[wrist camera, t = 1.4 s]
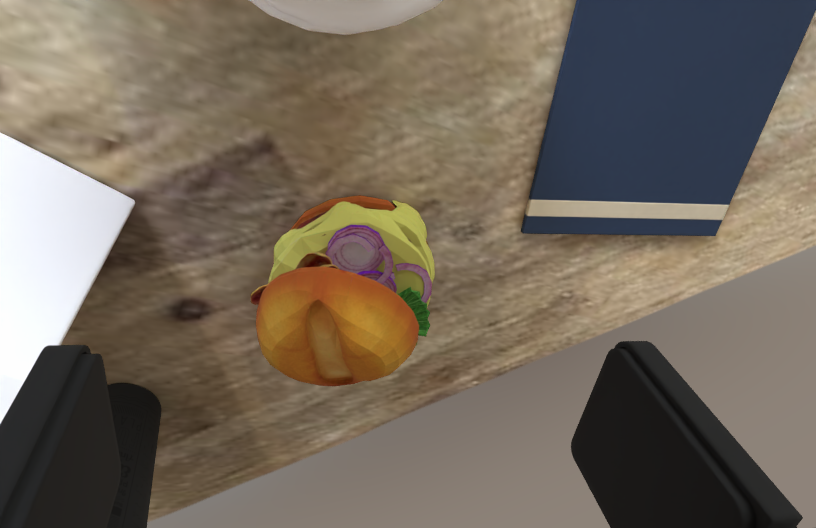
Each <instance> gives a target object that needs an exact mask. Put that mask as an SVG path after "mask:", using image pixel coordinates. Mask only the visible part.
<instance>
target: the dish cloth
mask: <svg viewBox="0 0 816 528" xmlns="http://www.w3.org/2000/svg"><path fill="white" fill-rule="evenodd" d="M815 11H816V0H577V1H576V5H575V9H574V13H573V18H572V22H571V26H570V30H569V34H568V38H567V42H566V46H565V51H564V55H563V59H562V63H561V67H560V71H559V75H558V79H557V84H556V88H555V92H554V96H553V100H552V104H551V108H550V112H549V117H548V121H547V125H546V129H545V133H544V137H543V141H542V145H541V150H540V154H539V158H538V162H537V166H536V170H535V174H534V179H533V183H532V187H531V191H530V195H529V199H528V203H527V207H526V212H525V216H524V220H523V224H522V228H521V232H522V233H531V234H608V235H685V236H715V235H716V233H717V231H718V229H719V226H720V224H721V222H722V220H723V218H724V216H725V213H726V211H727V209H728V207H729V204H730V202H731V199H732V197H733V195H734V193H735V191H736V188H737V186H738V184H739V182H740V179H741V177H742V175H743V173H744V170H745V168H746V166H747V164H748V161H749V159H750V157H751V155H752V152H753V150H754V148H755V146H756V143H757V141H758V139H759V137H760V134H761V132H762V130H763V128H764V125H765V123H766V121H767V119H768V116H769V114H770V112H771V110H772V107H773V105H774V103H775V101H776V98H777V96H778V94H779V92H780V89H781V87H782V85H783V83H784V80H785V78H786V76H787V74H788V71H789V69H790V67H791V65H792V62H793V60H794V58H795V56H796V53H797V51H798V49H799V47H800V44H801V42H802V40H803V38H804V35H805V33H806V31H807V29H808V26H809V24H810V22H811V20H812V17H813V15H814V13H815Z"/></svg>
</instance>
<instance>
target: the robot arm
mask: <svg viewBox="0 0 816 528" xmlns="http://www.w3.org/2000/svg"><path fill="white" fill-rule="evenodd" d="M571 450H572V455H573V458H574V460H575V462H576V464H577V466H578V467H579V469H580V471H581V473H582V475H583V477H584V478H585V480H586V482H587V484H588V486H589V488H590V490H591V492H592V493H593V495H594V497H595V499H596V501H597V503H598V505H599V507H600V508H601V510H602V512H603V514H604V516H605V518H606V520H607V522H608V524H609V525H610V527H611V528H797V527H796V526H797V525H798V523H799V522H800V521H801V520H802V518H803V517H802V516H801V515H800V514H799V512H798V511H797V510H796V509H795V508H794V507H793V506H792V504H791V503H790V502H789V501H788V500H787V499H786V497H785V496H784V495H783V494H782V493H781V492H780V490H779V489H778V488H777V487H776V486H775V485H774V483H773V482H772V481H771V480H770V479H769V478H768V476H767V475H766V474H765V473H764V472H763V471H762V470H761V468H760V467H759V466H758V465H757V464H756V463H755V462H754V460H753V459H752V458H751V457H750V456H749V455H748V453H747V452H746V451H745V450H744V449H743V448H742V446H741V445H740V444H739V443H738V442H737V441H736V439H735V438H734V437H733V436H732V435H731V434H730V433H729V431H728V430H727V429H726V428H725V427H724V426H723V424H722V423H721V422H720V421H719V420H718V419H717V417H716V416H715V415H714V414H713V413H712V412H711V411H710V409H709V408H708V407H707V406H706V405H705V404H704V402H703V401H702V400H701V399H700V398H699V397H698V395H697V394H696V393H695V392H694V391H693V390H692V389H691V388H690V386H689V385H688V384H687V383H686V382H685V381H684V380H683V378H682V377H681V376H680V375H679V374H678V372H677V371H676V370H675V369H674V368H673V367H672V365H671V364H670V363H669V362H668V361H667V360H666V359H665V357H664V356H663V355H662V354H661V353H660V352H659V351H658V349H657V348H656V347H655V346H654V345H653V344H652V343H650V342H647V341H625V342H624V341H623V342H619V343H618V344H617V345H616V346H615V348H614V349H611V350H610V351H609V352H608V354H607V356H606V359H605V361H604V364H603V366H602V369H601V371H600V374H599V376H598V378H597V381H596V383H595V386H594V388H593V390H592V393H591V395H590V398H589V400H588V402H587V405H586V407H585V410H584V412H583V414H582V417H581V419H580V422H579V424H578V426H577V429H576V431H575V434H574V436H573V439H572V442H571ZM120 477H121V461H120V456H119V450H118V444H117V438H116V433H115V427H114V421H113V415H112V410H111V404H110V398H109V392H108V387H107V381H106V375H105V369H104V364H103V359H102V356H101V355H100V354H91V353H90V349H89V348H88V346H86V345H48V346H46V347H44V349H43V350H42V351H41V353H40V355H39V356H38V358H37V360H36V362H35V364H34V365H33V367H32V369H31V371H30V372H29V374H28V376H27V378H26V379H25V381H24V383H23V385H22V386H21V388H20V390H19V392H18V394H17V395H16V397H15V399H14V401H13V402H12V404H11V406H10V408H9V409H8V411H7V413H6V415H5V417H4V418H3V420H2V422H1V424H0V528H107V524H108V521H109V518H110V514H111V511H112V507H113V504H114V501H115V497H116V494H117V491H118V487H119V483H120Z"/></svg>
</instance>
